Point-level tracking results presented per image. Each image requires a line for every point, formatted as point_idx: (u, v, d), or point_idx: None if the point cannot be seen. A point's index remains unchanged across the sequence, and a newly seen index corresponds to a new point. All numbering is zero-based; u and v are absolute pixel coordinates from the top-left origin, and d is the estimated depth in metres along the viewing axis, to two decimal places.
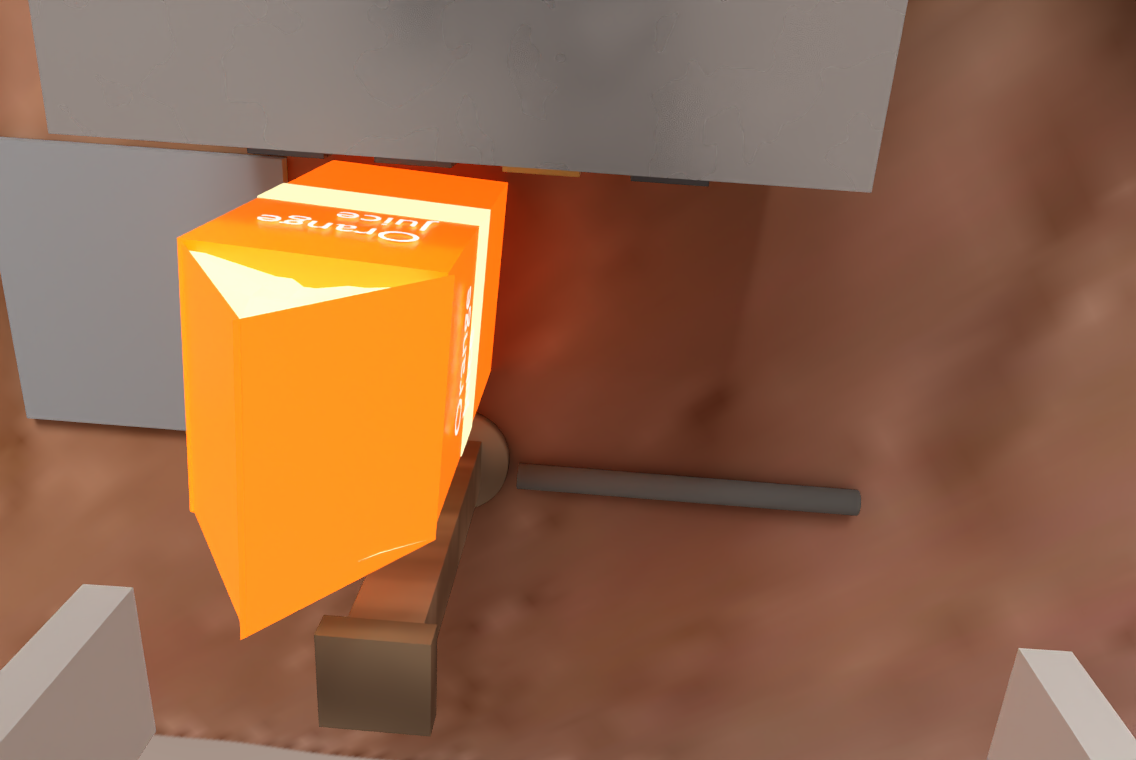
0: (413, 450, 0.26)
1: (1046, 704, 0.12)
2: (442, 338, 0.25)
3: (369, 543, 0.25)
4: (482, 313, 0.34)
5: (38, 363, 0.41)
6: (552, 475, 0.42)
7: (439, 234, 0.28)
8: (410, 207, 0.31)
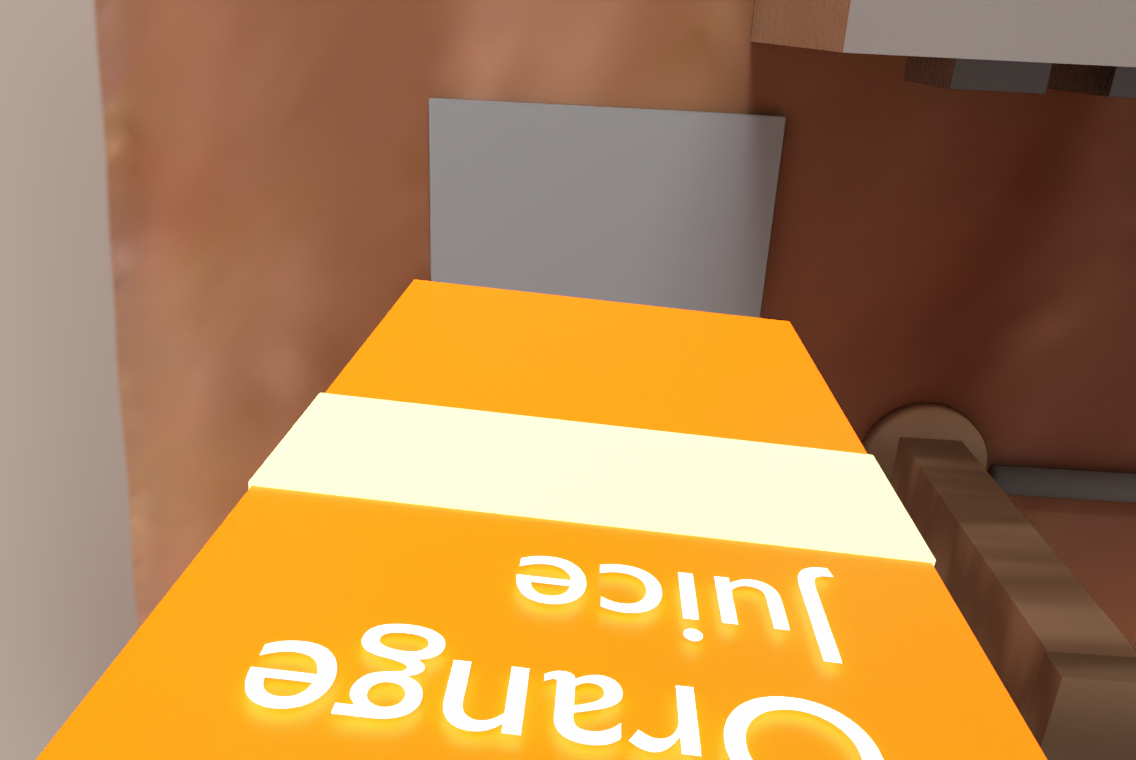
0: None
1: None
2: None
3: None
4: None
5: None
6: (1040, 478, 0.37)
7: (889, 666, 0.08)
8: (687, 480, 0.11)
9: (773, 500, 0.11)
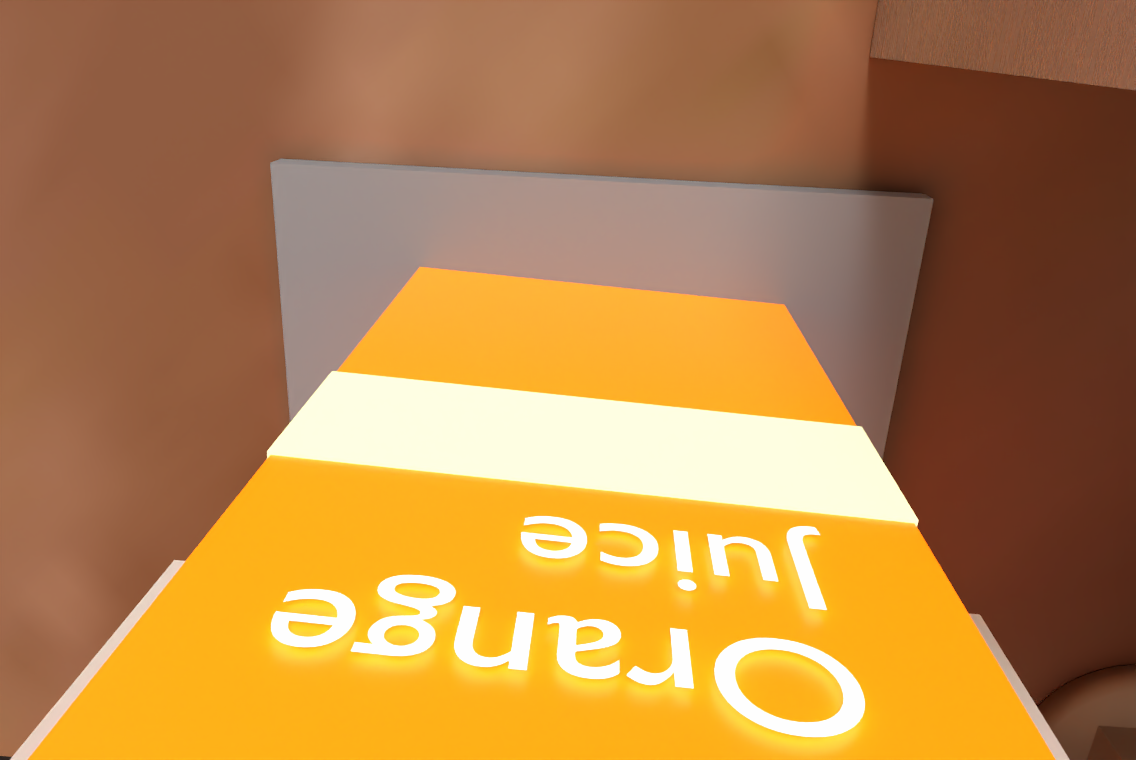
0: None
1: None
2: None
3: None
4: None
5: None
6: None
7: (871, 614, 0.09)
8: (683, 449, 0.11)
9: (765, 467, 0.11)
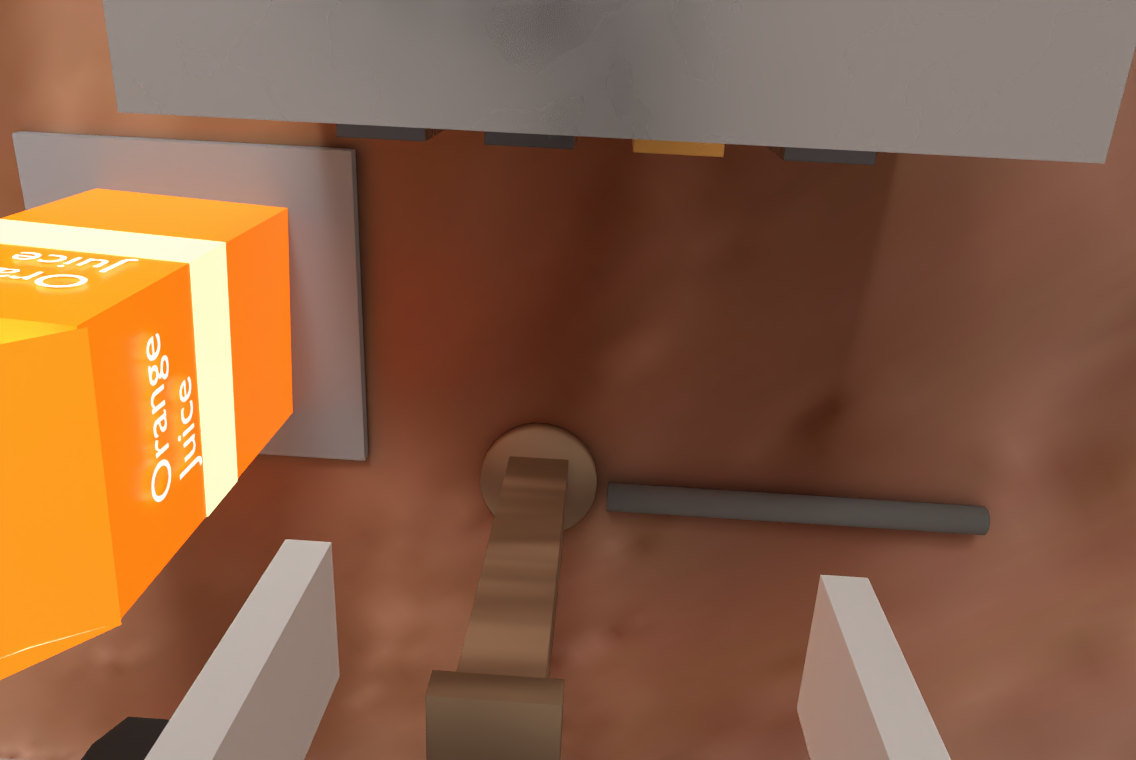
0: (61, 529, 0.22)
1: (832, 620, 0.13)
2: (82, 400, 0.22)
3: (9, 639, 0.22)
4: (237, 355, 0.31)
5: None
6: (646, 495, 0.38)
7: (124, 275, 0.25)
8: (123, 243, 0.28)
9: (151, 248, 0.27)
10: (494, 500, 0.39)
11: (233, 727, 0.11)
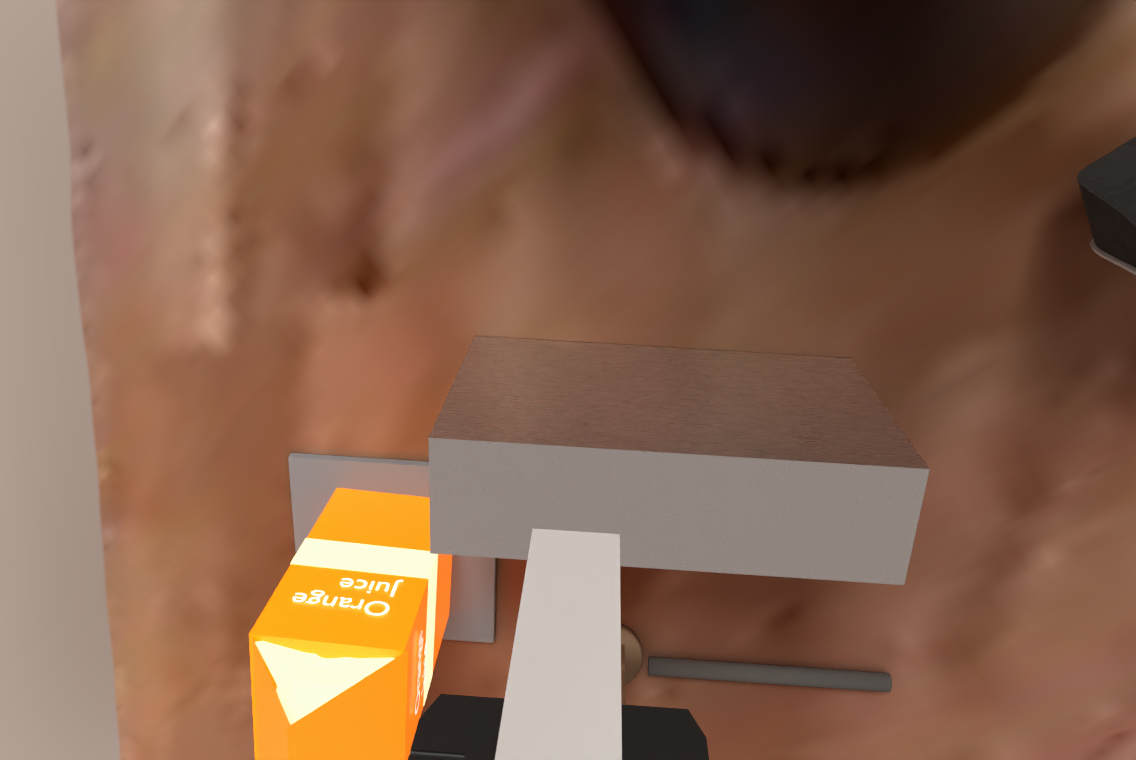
0: (387, 745, 0.44)
1: (572, 572, 0.14)
2: (402, 683, 0.43)
3: None
4: (436, 606, 0.53)
5: None
6: (674, 667, 0.59)
7: (402, 597, 0.46)
8: (386, 560, 0.49)
9: (403, 565, 0.49)
10: None
11: None
